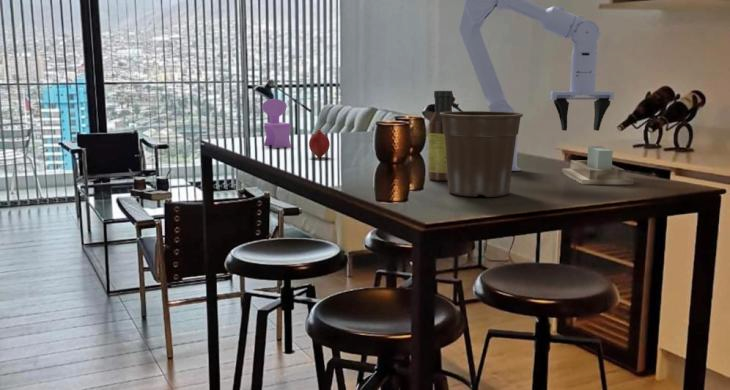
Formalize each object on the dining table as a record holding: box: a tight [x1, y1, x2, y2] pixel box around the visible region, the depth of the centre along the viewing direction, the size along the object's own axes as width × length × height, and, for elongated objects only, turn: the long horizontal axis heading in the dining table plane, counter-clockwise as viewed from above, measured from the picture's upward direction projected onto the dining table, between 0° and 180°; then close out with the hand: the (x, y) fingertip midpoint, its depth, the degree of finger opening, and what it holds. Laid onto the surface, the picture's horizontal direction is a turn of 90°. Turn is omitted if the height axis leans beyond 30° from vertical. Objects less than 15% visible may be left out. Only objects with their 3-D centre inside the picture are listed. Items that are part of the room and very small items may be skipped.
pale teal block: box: [587, 145, 614, 170], centre depth 159 cm, size 3×8×6 cm, turn 179°
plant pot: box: [440, 110, 524, 198], centre depth 142 cm, size 16×16×16 cm
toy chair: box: [261, 98, 292, 149], centre depth 227 cm, size 8×9×15 cm
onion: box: [308, 128, 331, 158], centre depth 198 cm, size 6×6×8 cm
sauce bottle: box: [427, 90, 454, 182], centre depth 158 cm, size 6×6×20 cm
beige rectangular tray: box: [561, 159, 635, 185], centre depth 161 cm, size 11×17×3 cm, turn 179°
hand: (580, 130), depth 170 cm, fingers open, 7 cm apart
